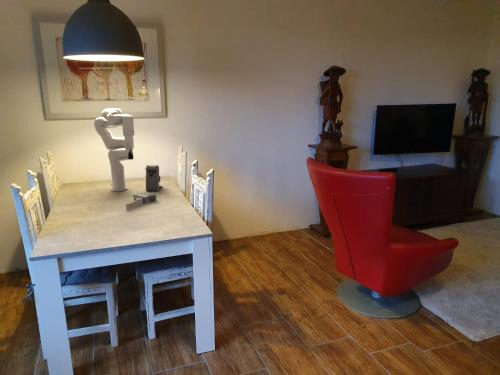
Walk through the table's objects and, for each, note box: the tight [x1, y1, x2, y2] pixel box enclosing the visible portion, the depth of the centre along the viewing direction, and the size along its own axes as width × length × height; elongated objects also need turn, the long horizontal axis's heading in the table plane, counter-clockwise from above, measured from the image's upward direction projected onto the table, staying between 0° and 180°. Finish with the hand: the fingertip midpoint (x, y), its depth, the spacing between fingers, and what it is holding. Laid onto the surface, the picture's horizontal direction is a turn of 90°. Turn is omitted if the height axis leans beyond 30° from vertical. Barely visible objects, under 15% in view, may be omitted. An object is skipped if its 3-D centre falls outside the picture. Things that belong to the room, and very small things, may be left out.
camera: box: [145, 164, 163, 193], centre depth 290 cm, size 11×17×20 cm, turn 174°
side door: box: [125, 197, 145, 212], centre depth 245 cm, size 18×1×5 cm, turn 161°
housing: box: [132, 191, 157, 205], centre depth 259 cm, size 13×10×5 cm
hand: (131, 159), depth 266 cm, fingers closed
